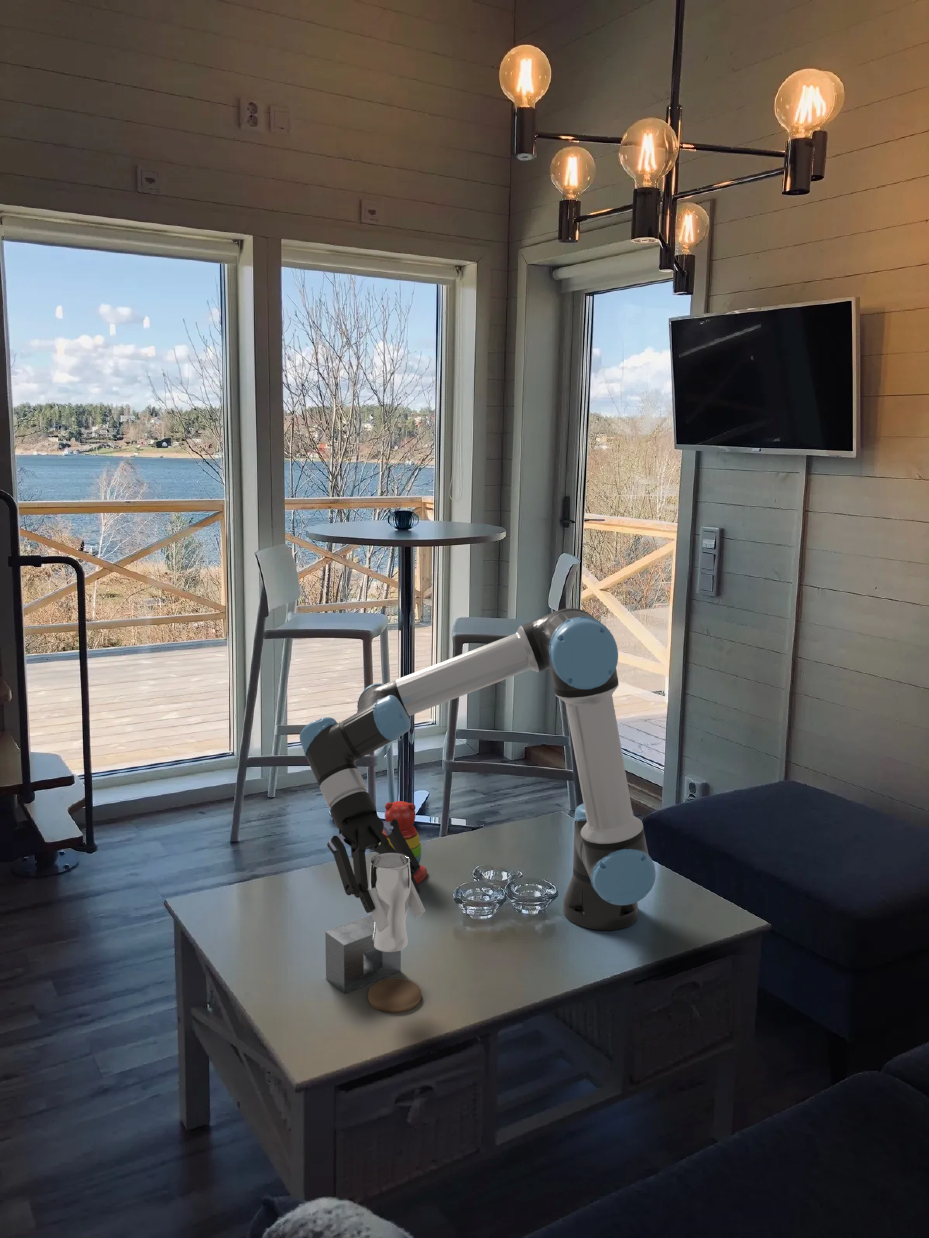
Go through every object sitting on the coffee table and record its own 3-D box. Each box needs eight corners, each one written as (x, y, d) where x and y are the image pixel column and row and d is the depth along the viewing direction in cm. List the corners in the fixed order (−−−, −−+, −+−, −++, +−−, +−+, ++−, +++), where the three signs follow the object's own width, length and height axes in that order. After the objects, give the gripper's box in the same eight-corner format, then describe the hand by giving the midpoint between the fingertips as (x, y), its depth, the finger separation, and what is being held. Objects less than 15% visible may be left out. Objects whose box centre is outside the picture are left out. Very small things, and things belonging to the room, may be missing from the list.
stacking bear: (428, 871, 217) (429, 795, 214) (419, 891, 207) (420, 811, 204) (381, 867, 218) (381, 792, 215) (370, 887, 208) (370, 808, 205)
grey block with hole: (326, 978, 172) (325, 931, 171) (381, 957, 180) (381, 911, 178) (344, 993, 168) (343, 944, 166) (400, 970, 175) (400, 924, 174)
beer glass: (364, 936, 167) (364, 854, 164) (403, 930, 169) (404, 849, 167) (375, 956, 160) (375, 871, 158) (415, 949, 163) (416, 865, 160)
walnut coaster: (424, 984, 171) (424, 979, 170) (416, 1014, 162) (416, 1008, 162) (373, 981, 171) (373, 976, 171) (363, 1010, 163) (363, 1005, 162)
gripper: (385, 798, 179) (439, 913, 170) (291, 822, 167) (343, 948, 157) (402, 778, 174) (458, 895, 165) (307, 802, 162) (361, 930, 152)
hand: (402, 921), depth 161 cm, fingers closed on beer glass, 7 cm apart
